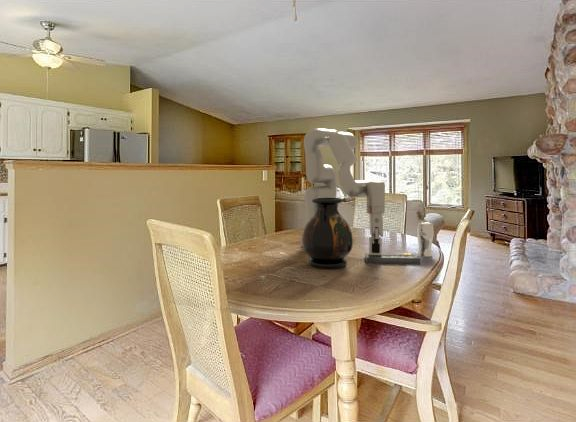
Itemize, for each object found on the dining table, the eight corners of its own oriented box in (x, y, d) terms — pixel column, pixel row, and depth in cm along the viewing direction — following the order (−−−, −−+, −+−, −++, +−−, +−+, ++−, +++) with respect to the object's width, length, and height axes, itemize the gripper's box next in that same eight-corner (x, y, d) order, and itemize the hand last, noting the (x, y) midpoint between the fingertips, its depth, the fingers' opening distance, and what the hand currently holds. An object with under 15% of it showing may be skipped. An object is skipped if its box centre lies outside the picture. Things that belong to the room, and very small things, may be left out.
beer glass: (434, 257, 157) (435, 224, 156) (417, 257, 159) (418, 224, 157) (431, 253, 164) (432, 222, 162) (415, 253, 166) (416, 221, 164)
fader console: (366, 263, 150) (366, 257, 150) (364, 258, 159) (364, 252, 159) (420, 264, 147) (420, 258, 147) (415, 258, 156) (415, 253, 156)
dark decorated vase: (348, 273, 136) (348, 201, 132) (295, 269, 143) (294, 200, 140) (357, 260, 156) (357, 196, 153) (310, 256, 163) (309, 196, 160)
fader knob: (369, 255, 152) (369, 238, 151) (368, 252, 156) (369, 237, 155) (381, 255, 151) (381, 238, 150) (380, 252, 155) (380, 237, 154)
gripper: (387, 212, 143) (386, 256, 145) (382, 207, 159) (381, 247, 161) (368, 212, 144) (367, 256, 146) (365, 207, 160) (364, 247, 162)
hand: (375, 251), depth 153 cm, fingers closed on fader knob, 4 cm apart
